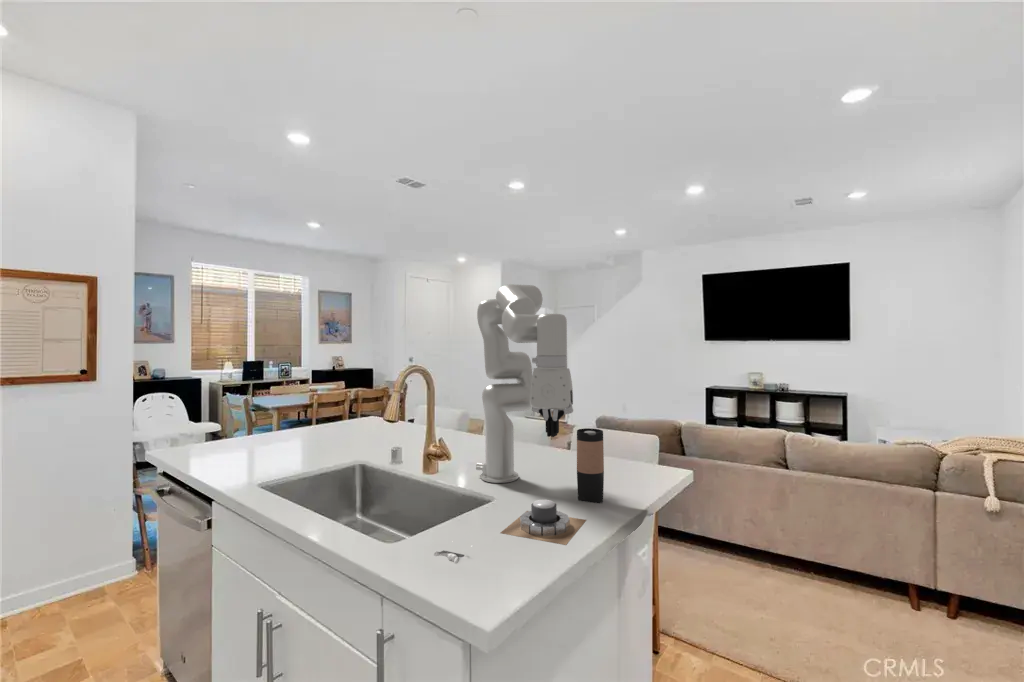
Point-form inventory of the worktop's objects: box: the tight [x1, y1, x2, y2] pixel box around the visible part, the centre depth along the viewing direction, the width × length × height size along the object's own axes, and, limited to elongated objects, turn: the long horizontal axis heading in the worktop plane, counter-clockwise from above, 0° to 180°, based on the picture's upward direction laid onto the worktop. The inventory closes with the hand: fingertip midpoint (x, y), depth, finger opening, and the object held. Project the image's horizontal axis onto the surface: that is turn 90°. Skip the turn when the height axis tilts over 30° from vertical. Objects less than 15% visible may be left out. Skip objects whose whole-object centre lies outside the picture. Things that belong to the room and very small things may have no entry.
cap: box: [530, 499, 558, 524], centre depth 112 cm, size 6×6×5 cm
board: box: [499, 510, 587, 546], centre depth 112 cm, size 16×16×1 cm
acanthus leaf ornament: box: [433, 540, 473, 564], centre depth 101 cm, size 8×7×2 cm
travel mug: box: [576, 427, 605, 505], centre depth 134 cm, size 8×8×20 cm
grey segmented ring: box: [519, 510, 570, 536], centre depth 112 cm, size 12×12×2 cm
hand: (552, 435), depth 118 cm, fingers closed
